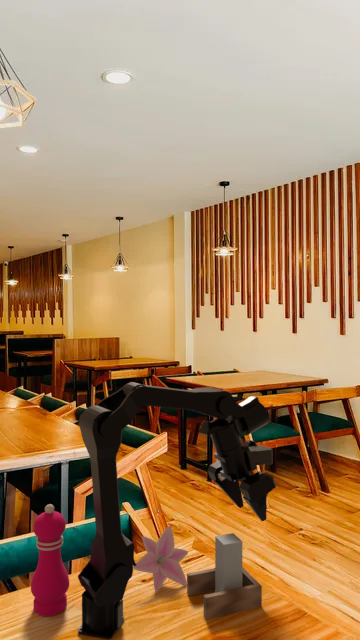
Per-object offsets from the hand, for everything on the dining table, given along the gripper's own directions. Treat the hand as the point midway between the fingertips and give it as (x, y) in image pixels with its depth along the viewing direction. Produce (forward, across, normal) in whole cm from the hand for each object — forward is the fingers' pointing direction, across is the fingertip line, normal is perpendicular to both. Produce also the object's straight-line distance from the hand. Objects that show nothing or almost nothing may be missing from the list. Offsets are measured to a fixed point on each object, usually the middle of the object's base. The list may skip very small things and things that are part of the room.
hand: (252, 513), depth 110 cm
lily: (+8, +8, +21) cm, 24 cm away
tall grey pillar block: (+11, -3, +12) cm, 17 cm away
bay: (+11, -3, +13) cm, 17 cm away
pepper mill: (0, +8, +43) cm, 44 cm away
